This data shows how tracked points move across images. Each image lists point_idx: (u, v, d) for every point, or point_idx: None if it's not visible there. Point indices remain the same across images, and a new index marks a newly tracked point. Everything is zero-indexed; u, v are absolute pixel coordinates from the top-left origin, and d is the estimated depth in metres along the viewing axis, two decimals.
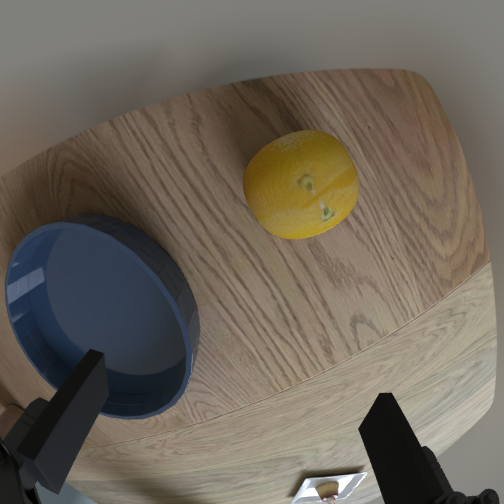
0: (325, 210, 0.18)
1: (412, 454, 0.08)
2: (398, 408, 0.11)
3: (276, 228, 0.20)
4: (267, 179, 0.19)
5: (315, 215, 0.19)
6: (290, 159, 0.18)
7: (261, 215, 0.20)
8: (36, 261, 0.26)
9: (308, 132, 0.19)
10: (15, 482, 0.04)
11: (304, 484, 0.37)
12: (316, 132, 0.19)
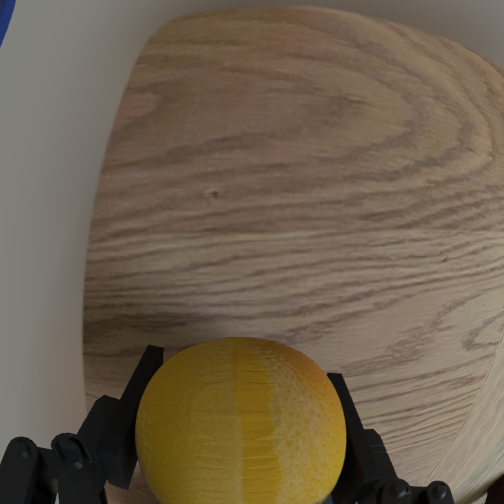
0: None
1: (351, 433, 0.09)
2: (346, 388, 0.12)
3: None
4: None
5: None
6: None
7: None
8: None
9: (136, 442, 0.07)
10: (92, 487, 0.05)
11: None
12: (140, 434, 0.07)
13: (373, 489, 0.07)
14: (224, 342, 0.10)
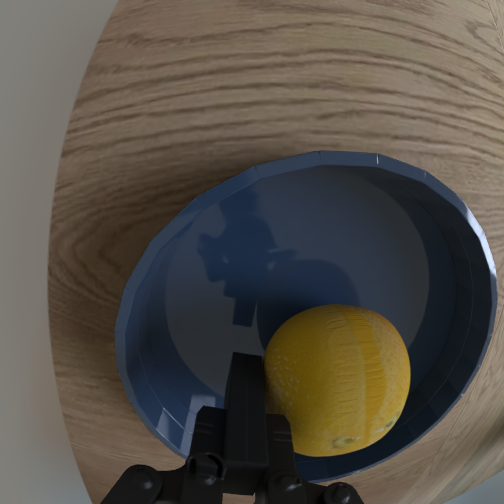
0: (387, 425, 0.10)
1: (250, 414, 0.10)
2: (262, 371, 0.13)
3: None
4: (306, 454, 0.12)
5: (382, 434, 0.11)
6: (302, 441, 0.11)
7: None
8: (178, 387, 0.19)
9: (277, 384, 0.12)
10: None
11: None
12: (283, 375, 0.11)
13: (263, 477, 0.07)
14: (326, 306, 0.14)
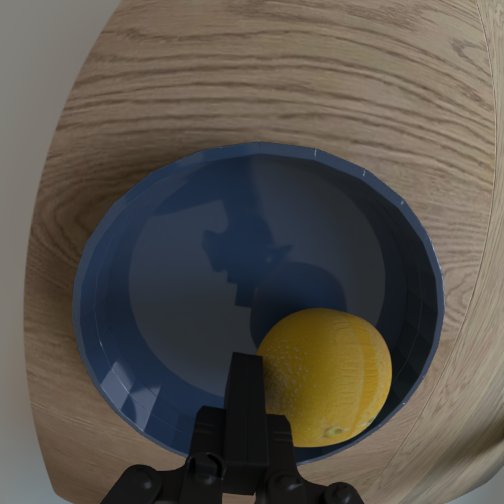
0: (369, 421, 0.12)
1: (250, 414, 0.10)
2: (262, 371, 0.13)
3: None
4: None
5: (362, 429, 0.12)
6: (297, 429, 0.12)
7: None
8: (128, 352, 0.20)
9: (283, 372, 0.13)
10: None
11: None
12: (292, 364, 0.12)
13: (263, 477, 0.07)
14: (326, 309, 0.16)
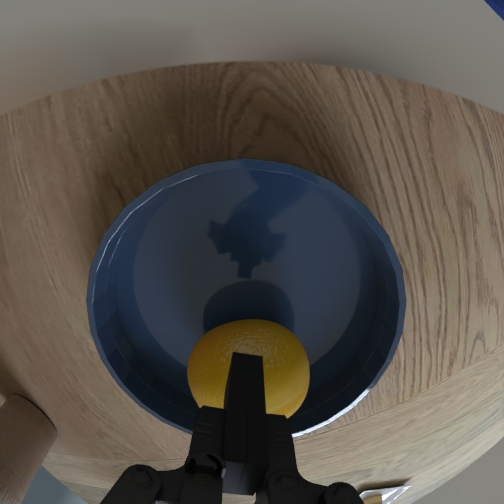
0: None
1: (251, 414, 0.10)
2: (262, 371, 0.13)
3: None
4: (207, 389, 0.16)
5: None
6: None
7: (196, 401, 0.18)
8: (158, 213, 0.21)
9: (270, 349, 0.17)
10: None
11: None
12: (279, 351, 0.17)
13: (263, 477, 0.07)
14: None
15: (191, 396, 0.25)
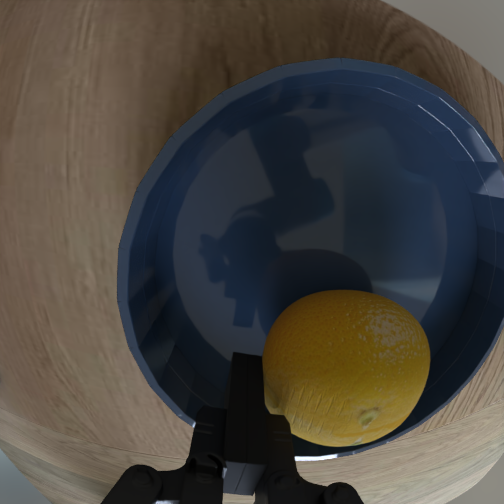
0: (356, 443, 0.10)
1: (250, 414, 0.10)
2: (262, 370, 0.13)
3: None
4: (325, 382, 0.10)
5: (341, 444, 0.10)
6: (377, 378, 0.09)
7: (275, 399, 0.11)
8: (282, 113, 0.14)
9: (415, 332, 0.11)
10: None
11: None
12: (422, 337, 0.11)
13: (263, 477, 0.07)
14: None
15: (214, 384, 0.19)
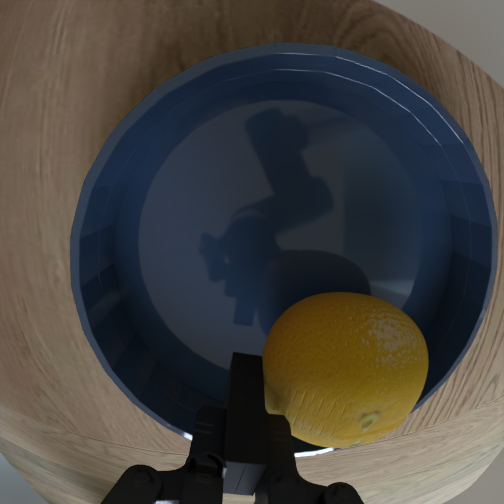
0: (355, 444, 0.10)
1: (250, 414, 0.10)
2: (262, 371, 0.13)
3: None
4: (328, 385, 0.10)
5: (340, 445, 0.10)
6: (379, 382, 0.10)
7: (275, 401, 0.11)
8: (230, 104, 0.14)
9: (416, 337, 0.11)
10: None
11: None
12: (421, 342, 0.11)
13: (263, 477, 0.07)
14: None
15: (175, 375, 0.19)
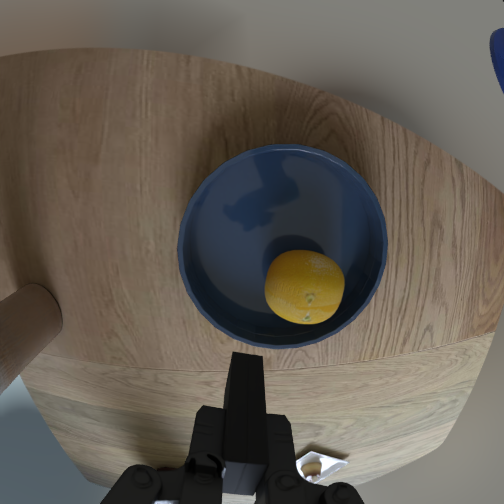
0: (307, 317, 0.28)
1: (251, 414, 0.10)
2: (263, 371, 0.13)
3: (274, 305, 0.30)
4: (291, 279, 0.28)
5: (300, 315, 0.28)
6: (312, 279, 0.28)
7: (271, 291, 0.30)
8: (251, 164, 0.32)
9: (333, 267, 0.29)
10: (218, 503, 0.06)
11: (303, 457, 0.46)
12: (336, 270, 0.29)
13: (263, 477, 0.07)
14: None
15: (218, 303, 0.36)
